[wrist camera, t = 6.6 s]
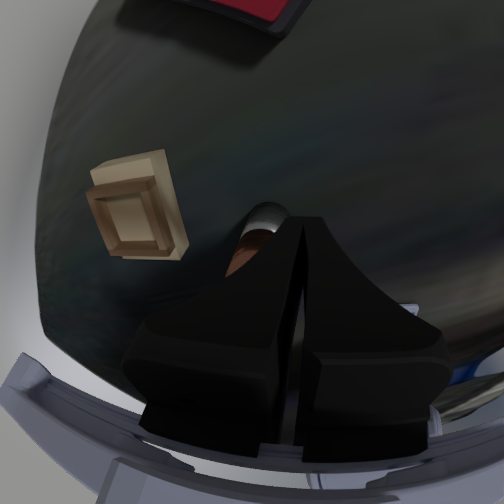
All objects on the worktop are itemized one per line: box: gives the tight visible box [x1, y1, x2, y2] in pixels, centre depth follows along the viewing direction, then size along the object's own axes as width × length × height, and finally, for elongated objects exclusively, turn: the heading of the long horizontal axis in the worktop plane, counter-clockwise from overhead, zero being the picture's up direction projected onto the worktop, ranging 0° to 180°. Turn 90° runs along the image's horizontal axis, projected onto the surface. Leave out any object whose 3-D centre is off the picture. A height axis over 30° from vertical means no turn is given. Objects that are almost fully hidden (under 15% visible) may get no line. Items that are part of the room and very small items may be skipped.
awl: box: [225, 202, 290, 278], centre depth 17 cm, size 3×3×6 cm
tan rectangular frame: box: [85, 149, 189, 260], centre depth 19 cm, size 8×6×3 cm
